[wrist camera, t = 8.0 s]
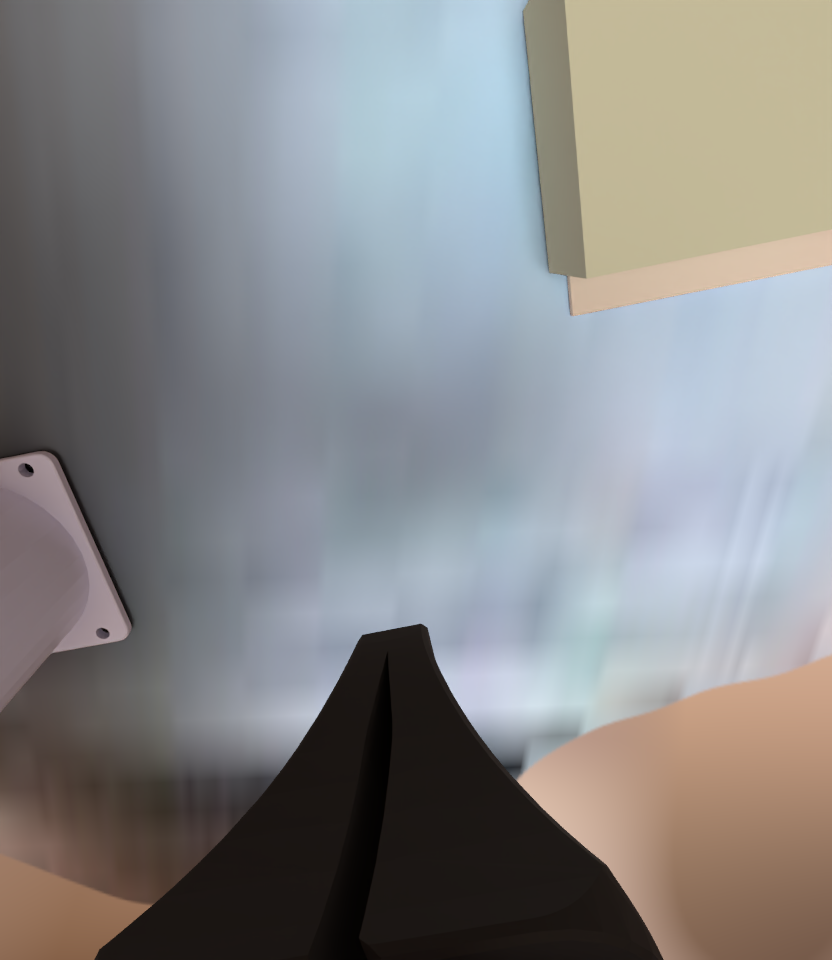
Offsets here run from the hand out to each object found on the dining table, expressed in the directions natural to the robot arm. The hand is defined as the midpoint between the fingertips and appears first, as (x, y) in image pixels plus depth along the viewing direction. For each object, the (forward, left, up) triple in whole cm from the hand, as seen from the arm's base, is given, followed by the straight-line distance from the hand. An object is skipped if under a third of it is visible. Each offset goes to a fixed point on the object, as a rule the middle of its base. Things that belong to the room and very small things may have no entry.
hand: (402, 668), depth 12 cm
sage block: (+6, +10, -8) cm, 14 cm away
